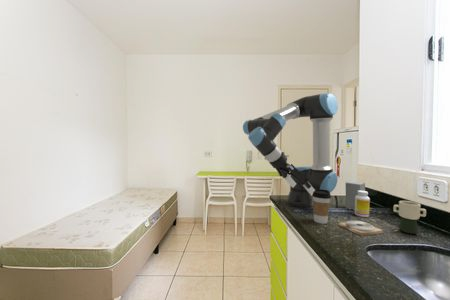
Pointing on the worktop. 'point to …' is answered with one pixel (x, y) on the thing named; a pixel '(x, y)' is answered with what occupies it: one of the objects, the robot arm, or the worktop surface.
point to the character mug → (409, 215)
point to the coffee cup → (321, 205)
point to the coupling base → (360, 227)
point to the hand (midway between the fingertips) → (303, 188)
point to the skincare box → (353, 192)
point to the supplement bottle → (362, 204)
